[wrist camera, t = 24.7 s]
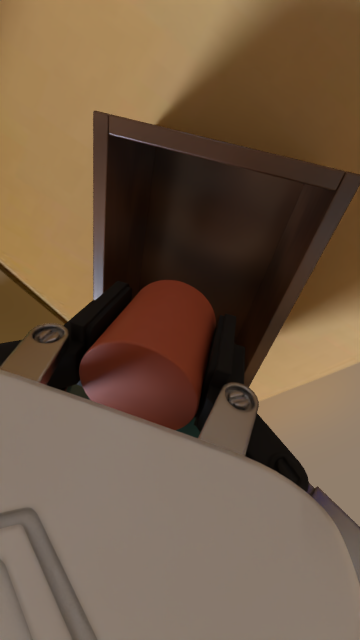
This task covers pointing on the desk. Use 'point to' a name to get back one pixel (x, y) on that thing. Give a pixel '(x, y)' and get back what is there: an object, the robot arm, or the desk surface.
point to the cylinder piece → (153, 355)
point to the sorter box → (211, 222)
